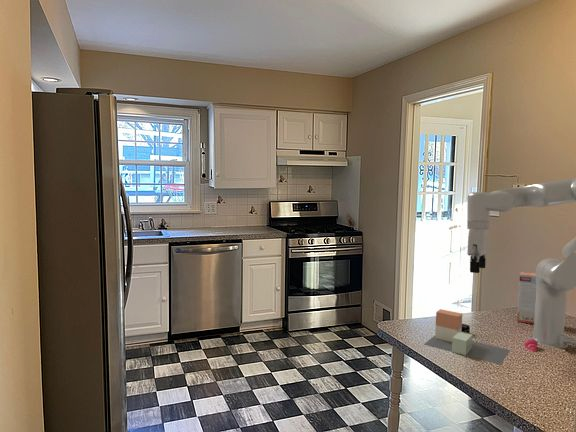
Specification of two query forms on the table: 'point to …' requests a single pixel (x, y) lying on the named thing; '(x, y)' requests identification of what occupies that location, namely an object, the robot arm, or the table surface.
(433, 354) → the table surface
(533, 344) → the toy pieces
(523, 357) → the table surface
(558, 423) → the table surface
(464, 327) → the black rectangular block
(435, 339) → the baseplate
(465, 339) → the sage brick
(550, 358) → the table surface
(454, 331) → the cream brick
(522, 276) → the cracker box
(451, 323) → the terracotta brick
